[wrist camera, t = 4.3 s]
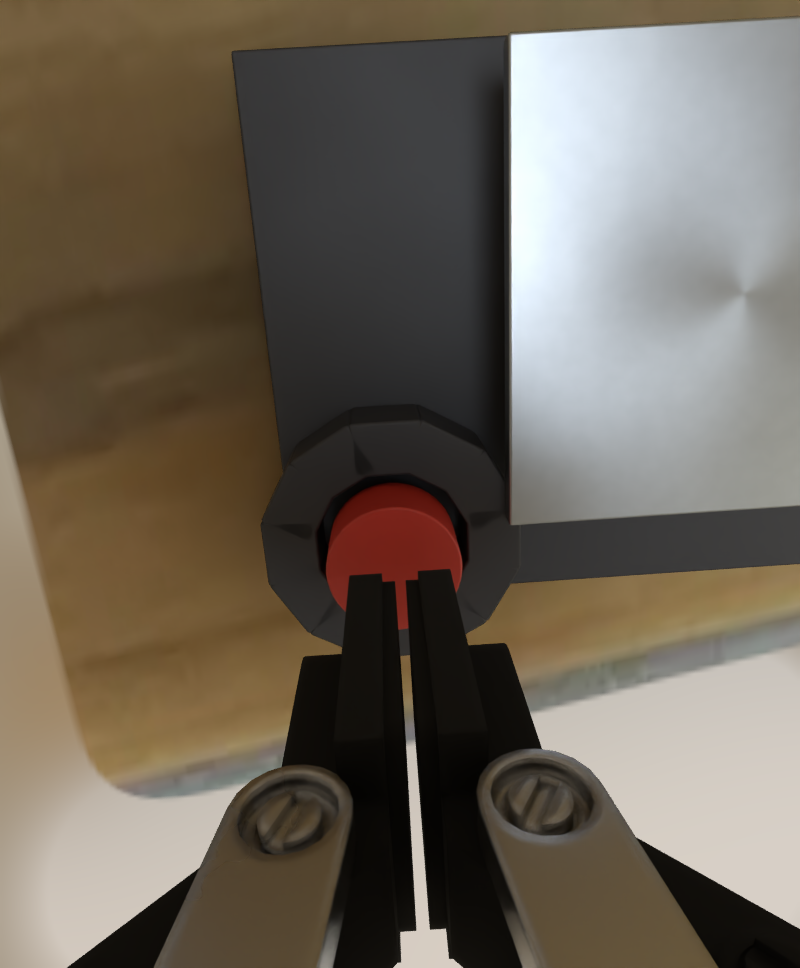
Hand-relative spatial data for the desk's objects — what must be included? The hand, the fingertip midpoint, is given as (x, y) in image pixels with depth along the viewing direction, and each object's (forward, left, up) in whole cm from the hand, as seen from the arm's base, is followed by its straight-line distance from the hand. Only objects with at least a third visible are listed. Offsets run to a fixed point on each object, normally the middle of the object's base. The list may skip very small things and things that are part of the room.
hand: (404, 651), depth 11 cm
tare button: (0, 0, -4) cm, 4 cm away
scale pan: (+7, +5, -4) cm, 9 cm away
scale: (+5, +4, -7) cm, 9 cm away
